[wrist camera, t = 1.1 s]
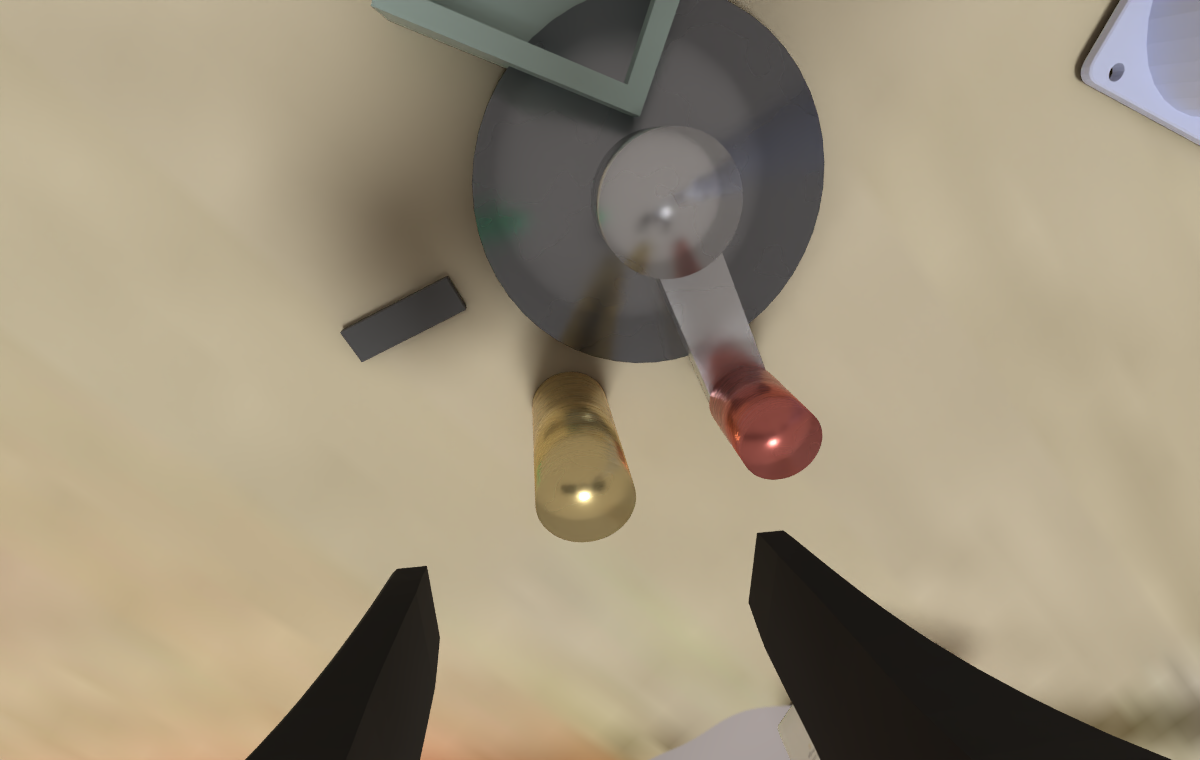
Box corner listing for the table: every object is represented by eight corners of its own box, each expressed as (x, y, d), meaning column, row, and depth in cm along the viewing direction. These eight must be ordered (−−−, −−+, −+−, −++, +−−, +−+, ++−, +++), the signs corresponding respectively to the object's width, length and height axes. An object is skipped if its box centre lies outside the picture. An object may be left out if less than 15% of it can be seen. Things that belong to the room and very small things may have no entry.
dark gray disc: (868, 81, 18) (888, 78, 17) (726, 385, 21) (735, 396, 20) (534, -79, 15) (535, -94, 14) (438, 301, 19) (433, 309, 18)
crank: (567, 166, 16) (581, 175, 12) (692, 101, 16) (746, 90, 12) (694, 439, 21) (735, 510, 17) (794, 392, 20) (859, 453, 16)
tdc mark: (447, 276, 18) (446, 278, 18) (466, 307, 19) (465, 309, 19) (342, 329, 19) (340, 332, 18) (364, 358, 19) (361, 362, 19)
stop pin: (617, 383, 21) (650, 470, 15) (592, 446, 22) (615, 549, 16) (545, 363, 20) (553, 447, 15) (523, 428, 21) (522, 531, 16)
